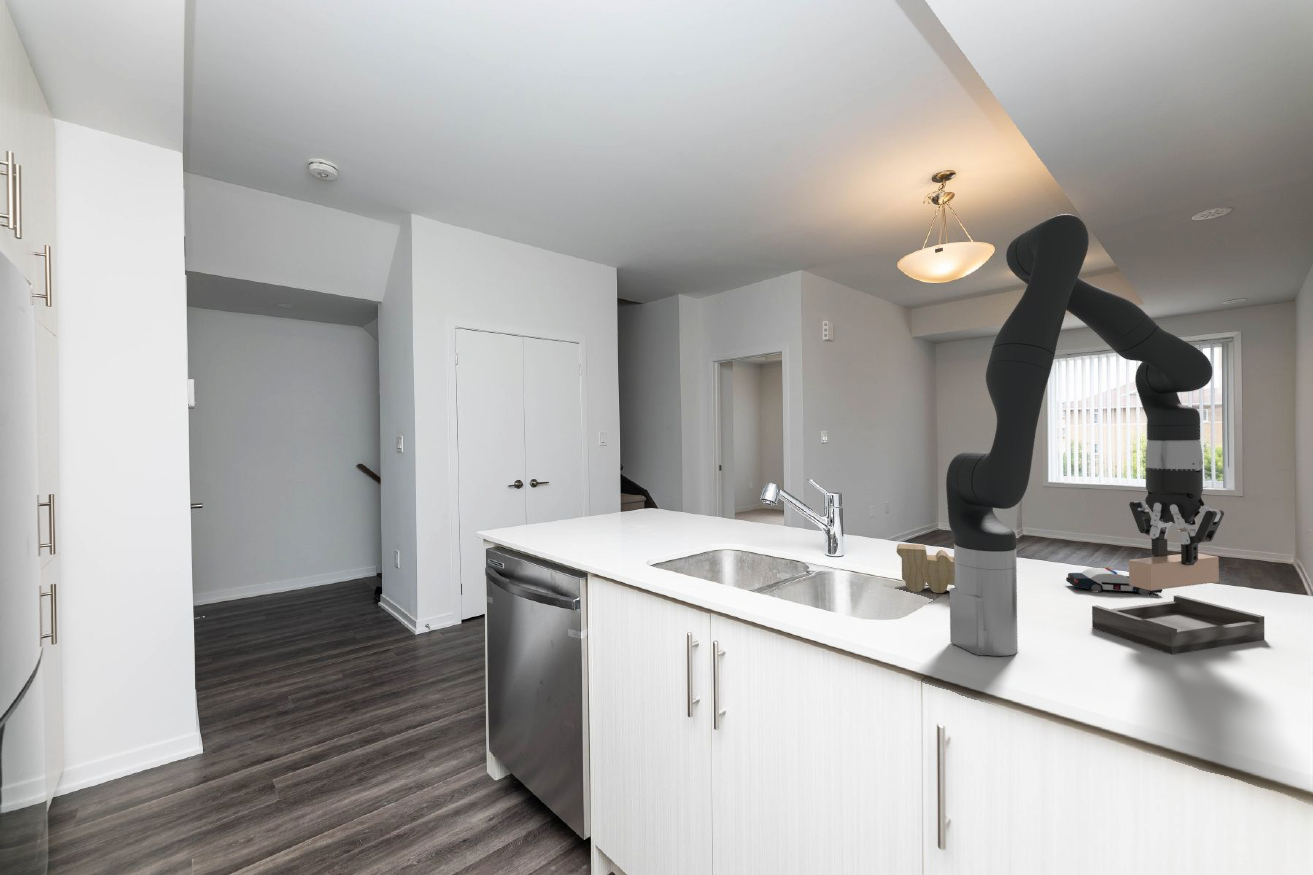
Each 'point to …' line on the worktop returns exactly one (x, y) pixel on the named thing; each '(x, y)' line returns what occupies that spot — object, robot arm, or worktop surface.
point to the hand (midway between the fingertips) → (1174, 561)
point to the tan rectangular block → (1172, 572)
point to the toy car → (1104, 581)
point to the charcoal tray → (1180, 624)
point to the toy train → (925, 568)
